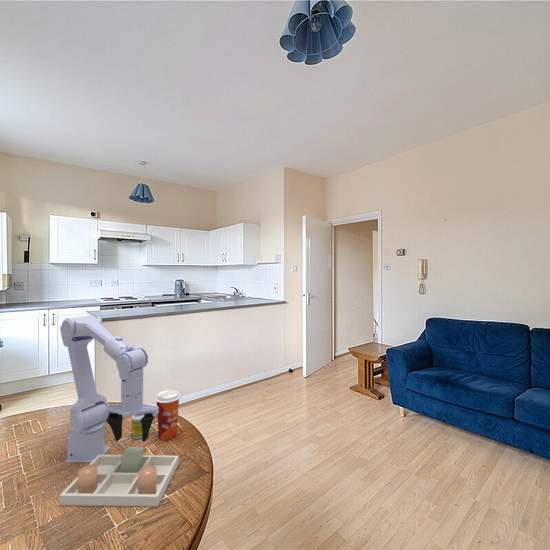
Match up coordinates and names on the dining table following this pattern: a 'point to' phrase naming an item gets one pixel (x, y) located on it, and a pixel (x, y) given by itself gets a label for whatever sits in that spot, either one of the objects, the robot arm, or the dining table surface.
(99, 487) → the white compartment tray
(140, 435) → the supplement bottle
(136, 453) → the pale green block
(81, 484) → the tan rounded cylinder
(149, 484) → the tan rounded capsule part
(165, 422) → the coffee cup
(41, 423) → the dining table surface
